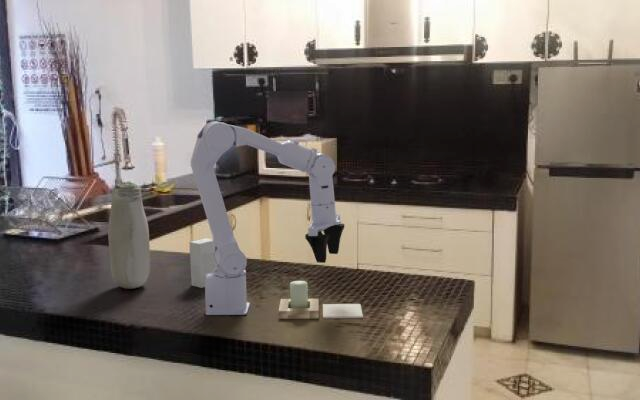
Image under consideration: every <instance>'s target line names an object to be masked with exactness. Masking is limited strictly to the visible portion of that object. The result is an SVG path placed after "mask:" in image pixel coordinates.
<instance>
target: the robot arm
mask: <svg viewBox="0 0 640 400" xmlns="http://www.w3.org/2000/svg"><path fill="white" fill-rule="evenodd" d="M241 146H242V147H243V146H249V147H251V148H254V149H258V150H260V151H263V152H265V153H268V154H271V155H274V156H276V157H277V160H278V162H279V163H280V164H282V165H284V166H287V167H289V168H291V169H295V170H296V171H299V172H302V173H306V174H308V181H309V182H308V183H309V196H310V206H311V207H310V208H311V217H312V221H311V223H310V226H309V227H307V230H308V232H307V233H306V234H305V235H304V236H305V238H304V239H305V240H306V241H307V242H308V244H309V245H310V248H311V250H312V252H313V255H314V258H315V261H316V263H321V264H322V263H326V261H327V250H328V253H329V254H330V255H338V254H339V250H340V244H341V243H340V242H341V239H342V234H343V231H344V229H345V224H344V223H342V220H341V215H340V214H336V212H337V211H336V202H335V201H336V199H335V191H334V190H335V189H334V188H335V187H334V182H333V181H334V180H333V175H334V174H335V171H336V166H337V165H336V164H335V163H334V160H333V159H332V157H331V156H329V155H328V154H325V153H321V152H319V151H318V149H317V148H314V147H312V148H309V147H306V146H304V145H302V144H300V141H298V140H297V139H293V140H288V139H287V140H285V141H283V142H278V141H277V140H274V139H272V138H269V137H267V136H265V135H263V134H260V133H259V132H255V131H253V130H251V129H249V128H246V127H242V126H241V127H240V126H237V125H232V124H227V123H225V122H221V121H215V120H213V121H209V122H208V123H206V124H205V125H204V126H203V127H202V128H201V130H200V131H199V132H198V134H197V136H196V142H195V145H194V149H193V152H192V155H191V159H190V167H191V171H192V174H193V177H194V180H195V184H196V186H197V190H198V194H199V197H200V199H201V202H202V206H203V209H204V212H205V216H206V219H207V223H208V225H209V230H210V232H211V235H212V239H213V242H214V246H215V250H214V259H215V261H216V263H217V268H216V270H215V273H213V274H207V275H206V280H205V287H204V292H205V293H204V294H205V296H204V297H205V298H204V299H205V315H206V316H231V315H232V316H234V315H235V316H237V315H238V316H244V315H245V316H246V315H248V312H249V308H250V306H251V302H248V300H247V299H248V298H247V275H246V274H247V270H246V267H247V265H248V264H247V263H248V259H247V256H246V255H245V252H243V251H242V250H241V249H240V247H239V245H238V244H239V243H238V241H237V239H236V237H235V235H234V232H233V228H232V225H231V222H230V219H229V216H228V211H227V209H226V206H225V201H224V198H223V196H222V193H221V189H220V186H219V185H220V184H219V181H218V179H217V175H216V172H215V169H214V167H215V166H216V164H217V162H218V161H219V159H220V158H221V156H223V154H225V153H226V152H227V151H228V150H229V149H231V148H232V147H236V148H237V147H241Z"/></svg>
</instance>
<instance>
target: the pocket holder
mask: <svg viewBox="0 0 640 400" xmlns="http://www.w3.org/2000/svg"><path fill="white" fill-rule="evenodd" d="M319 301H320V300H319V298H308V308H291V304H290V298H280V302H279V306H278V307H279V308H278V319H279V320H280V319H281V320H288V319H289V320H290V319H293V320H296V319H298V320H299V319H301V320H303V319H319V318H320V317H319V307H320V306H319Z"/></svg>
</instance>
